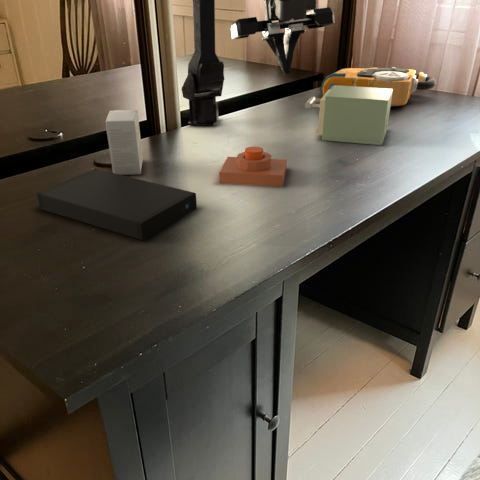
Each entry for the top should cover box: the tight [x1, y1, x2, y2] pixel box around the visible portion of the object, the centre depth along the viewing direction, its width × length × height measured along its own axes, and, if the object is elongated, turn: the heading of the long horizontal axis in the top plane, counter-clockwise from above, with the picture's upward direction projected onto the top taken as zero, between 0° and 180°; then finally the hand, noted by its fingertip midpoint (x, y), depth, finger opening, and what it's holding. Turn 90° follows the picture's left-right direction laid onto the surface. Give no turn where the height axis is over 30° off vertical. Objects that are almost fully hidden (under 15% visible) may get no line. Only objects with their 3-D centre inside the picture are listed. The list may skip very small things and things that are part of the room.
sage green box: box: [321, 85, 393, 146], centre depth 123 cm, size 14×12×10 cm
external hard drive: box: [36, 168, 198, 242], centre depth 91 cm, size 14×23×3 cm, turn 58°
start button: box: [244, 146, 265, 160], centre depth 102 cm, size 4×4×2 cm
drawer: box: [304, 90, 330, 136], centre depth 124 cm, size 16×10×8 cm, turn 72°
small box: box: [104, 109, 144, 176], centre depth 106 cm, size 8×6×10 cm
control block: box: [218, 151, 288, 187], centre depth 103 cm, size 12×9×4 cm
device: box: [320, 66, 437, 108], centre depth 152 cm, size 23×8×30 cm
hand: (286, 74), depth 103 cm, fingers closed
